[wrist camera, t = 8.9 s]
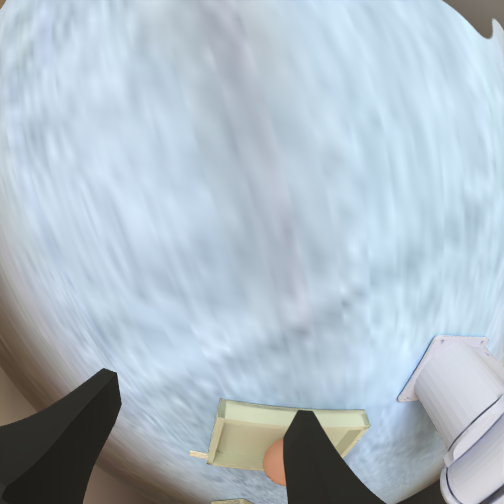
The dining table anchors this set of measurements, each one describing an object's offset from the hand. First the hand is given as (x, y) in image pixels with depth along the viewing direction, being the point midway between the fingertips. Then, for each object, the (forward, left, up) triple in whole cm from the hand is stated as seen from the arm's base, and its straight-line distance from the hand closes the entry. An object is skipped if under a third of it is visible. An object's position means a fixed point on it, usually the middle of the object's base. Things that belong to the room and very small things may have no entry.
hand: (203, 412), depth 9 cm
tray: (-8, +14, -9) cm, 19 cm away
